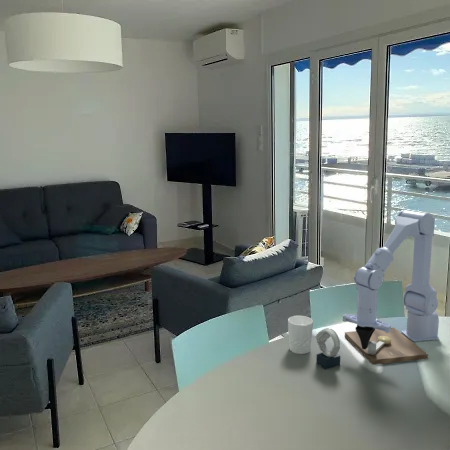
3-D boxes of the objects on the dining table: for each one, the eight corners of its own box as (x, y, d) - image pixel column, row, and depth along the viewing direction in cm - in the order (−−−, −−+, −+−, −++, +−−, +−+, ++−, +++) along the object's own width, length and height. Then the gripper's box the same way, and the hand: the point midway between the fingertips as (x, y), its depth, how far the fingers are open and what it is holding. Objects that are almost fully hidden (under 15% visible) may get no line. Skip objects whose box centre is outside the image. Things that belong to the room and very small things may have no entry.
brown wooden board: (393, 331, 164) (393, 327, 163) (427, 358, 144) (427, 353, 144) (344, 336, 160) (344, 331, 160) (372, 364, 141) (373, 359, 141)
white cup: (285, 353, 149) (286, 323, 147) (289, 342, 156) (290, 314, 154) (310, 356, 147) (311, 326, 145) (313, 345, 154) (314, 316, 152)
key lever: (380, 337, 155) (381, 328, 154) (392, 340, 152) (393, 331, 152) (364, 352, 145) (364, 342, 144) (376, 356, 142) (377, 346, 142)
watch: (326, 356, 147) (327, 323, 144) (344, 367, 140) (345, 333, 137) (312, 360, 144) (312, 327, 142) (329, 372, 137) (330, 337, 135)
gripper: (338, 305, 144) (337, 346, 147) (385, 316, 135) (382, 359, 138) (348, 298, 150) (347, 338, 153) (394, 308, 141) (391, 351, 143)
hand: (364, 348), depth 146 cm, fingers closed
